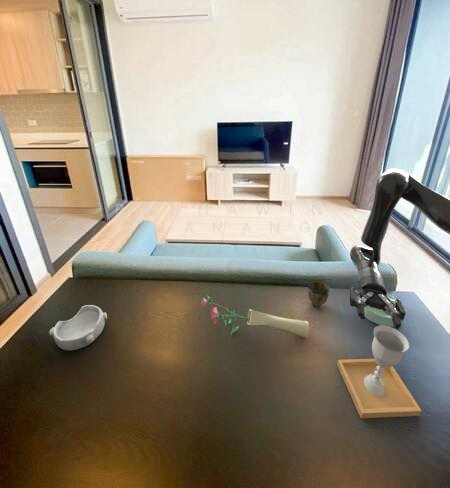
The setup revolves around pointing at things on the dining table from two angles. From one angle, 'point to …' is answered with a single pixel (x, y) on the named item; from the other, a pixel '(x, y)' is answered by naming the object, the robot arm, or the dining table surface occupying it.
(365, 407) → the tray
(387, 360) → the chalice
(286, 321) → the flower vase
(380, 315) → the bowl
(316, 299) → the cup
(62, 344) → the dish
